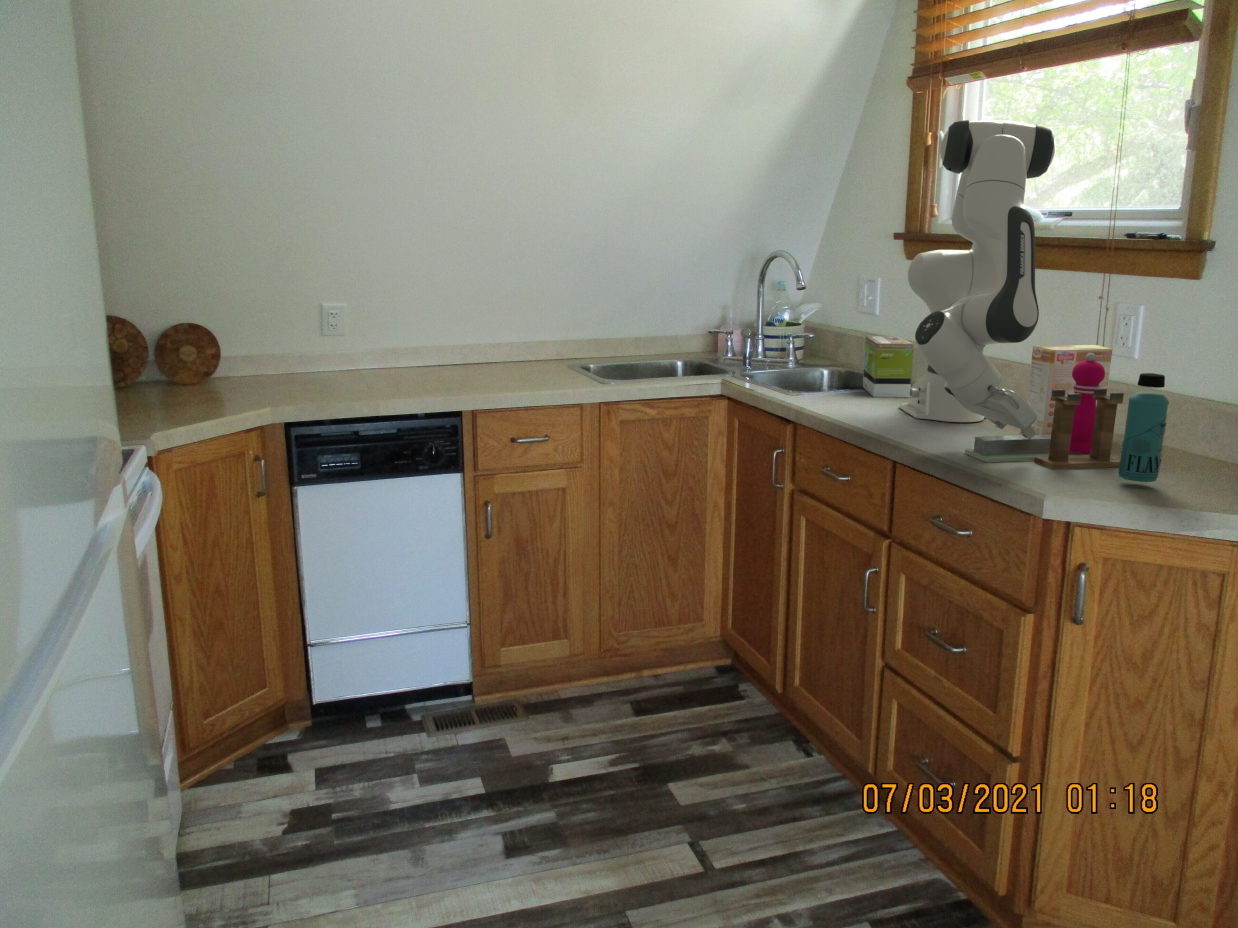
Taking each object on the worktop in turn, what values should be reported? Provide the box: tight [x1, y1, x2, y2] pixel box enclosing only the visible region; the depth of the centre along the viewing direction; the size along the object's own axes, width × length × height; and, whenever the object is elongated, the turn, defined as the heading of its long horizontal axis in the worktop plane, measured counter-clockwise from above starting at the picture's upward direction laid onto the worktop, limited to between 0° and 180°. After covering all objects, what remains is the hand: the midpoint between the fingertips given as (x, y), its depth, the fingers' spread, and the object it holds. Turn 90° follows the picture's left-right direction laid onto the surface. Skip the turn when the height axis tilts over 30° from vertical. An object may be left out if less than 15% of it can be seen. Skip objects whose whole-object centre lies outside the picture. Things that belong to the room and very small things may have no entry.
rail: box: [973, 434, 1051, 456], centre depth 194 cm, size 4×16×3 cm, turn 101°
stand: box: [1033, 388, 1125, 470], centre depth 187 cm, size 6×15×14 cm, turn 101°
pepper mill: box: [1069, 353, 1105, 455], centre depth 198 cm, size 7×7×20 cm
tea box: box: [862, 335, 915, 398], centre depth 265 cm, size 15×10×15 cm, turn 178°
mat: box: [964, 448, 1049, 463], centre depth 195 cm, size 8×17×1 cm, turn 101°
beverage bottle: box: [1117, 372, 1170, 483], centre depth 171 cm, size 6×7×20 cm
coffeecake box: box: [1026, 344, 1113, 436], centre depth 213 cm, size 15×7×20 cm, turn 102°
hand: (1016, 431), depth 193 cm, fingers open, 8 cm apart
